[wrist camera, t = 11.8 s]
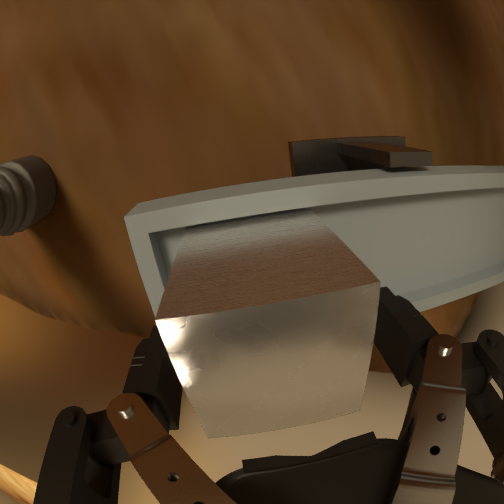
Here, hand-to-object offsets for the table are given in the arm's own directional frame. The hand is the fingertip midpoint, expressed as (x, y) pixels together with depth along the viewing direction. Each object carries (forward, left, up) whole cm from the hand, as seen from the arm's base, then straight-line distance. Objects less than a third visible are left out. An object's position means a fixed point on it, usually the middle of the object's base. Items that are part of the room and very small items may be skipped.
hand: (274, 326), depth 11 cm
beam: (0, +9, -7) cm, 11 cm away
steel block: (0, 0, -5) cm, 5 cm away
